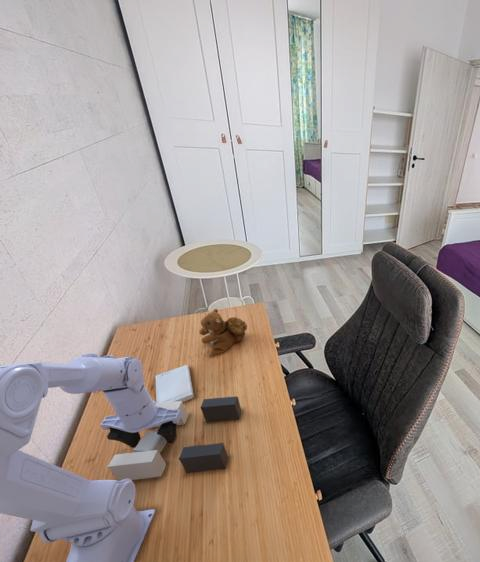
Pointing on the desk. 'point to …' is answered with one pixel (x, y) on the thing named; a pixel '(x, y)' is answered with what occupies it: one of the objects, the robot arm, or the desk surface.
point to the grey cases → (213, 453)
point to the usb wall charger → (151, 442)
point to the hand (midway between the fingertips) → (155, 441)
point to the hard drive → (174, 385)
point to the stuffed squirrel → (221, 331)
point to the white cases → (144, 455)
